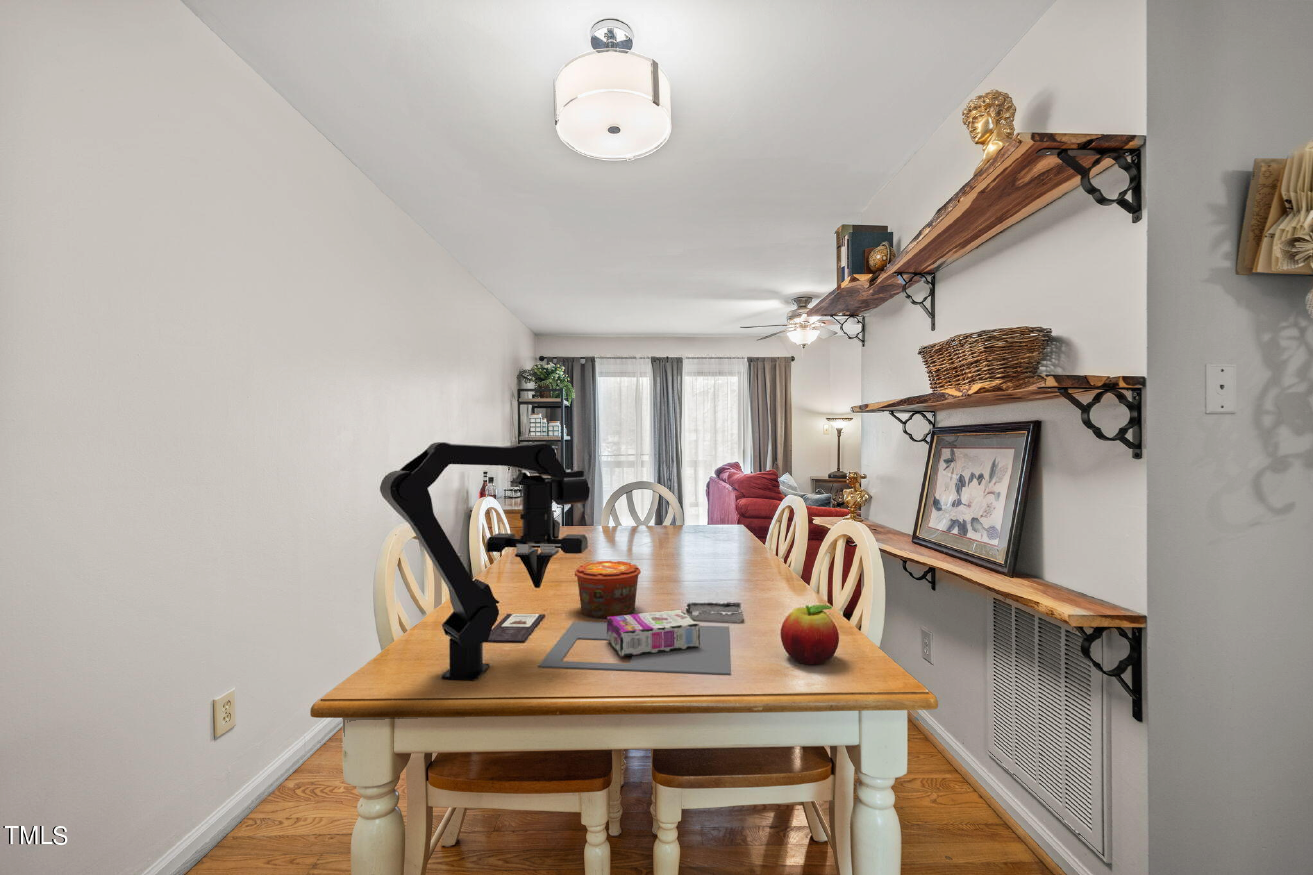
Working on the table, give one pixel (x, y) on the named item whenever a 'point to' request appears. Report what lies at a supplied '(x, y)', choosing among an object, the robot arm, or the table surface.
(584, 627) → the rubber mat
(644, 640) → the candy bar box
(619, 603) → the food container
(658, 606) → the table surface
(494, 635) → the chocolate bar
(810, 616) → the fruit
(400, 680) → the table surface
